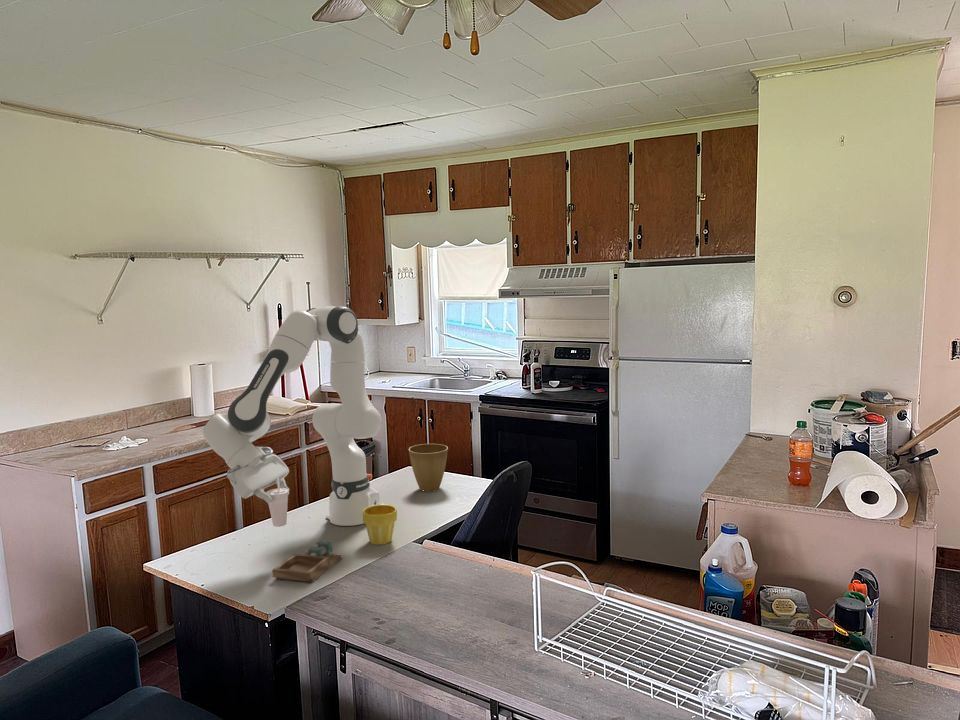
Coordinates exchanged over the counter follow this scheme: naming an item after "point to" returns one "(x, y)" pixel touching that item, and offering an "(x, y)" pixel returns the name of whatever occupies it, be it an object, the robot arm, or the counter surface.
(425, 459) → the plant pot
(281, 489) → the smoothie
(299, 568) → the brown wooden tray
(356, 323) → the robot arm
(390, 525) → the plant pot
